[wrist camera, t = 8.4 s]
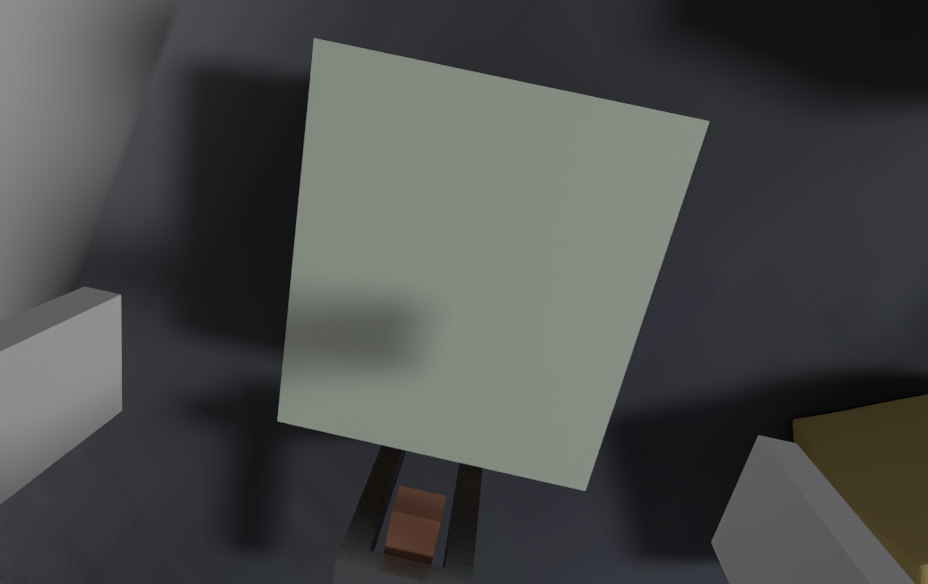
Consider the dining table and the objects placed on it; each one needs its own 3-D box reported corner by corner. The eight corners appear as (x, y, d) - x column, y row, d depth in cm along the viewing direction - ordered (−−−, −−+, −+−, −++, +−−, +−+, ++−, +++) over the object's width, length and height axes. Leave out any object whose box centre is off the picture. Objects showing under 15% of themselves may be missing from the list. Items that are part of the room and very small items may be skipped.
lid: (340, 46, 19) (313, 37, 16) (684, 118, 19) (709, 121, 16) (302, 388, 23) (277, 421, 21) (578, 450, 23) (585, 490, 21)
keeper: (401, 394, 30) (335, 561, 19) (487, 414, 30) (470, 593, 19) (397, 419, 30) (330, 595, 20) (481, 438, 30) (461, 626, 19)
